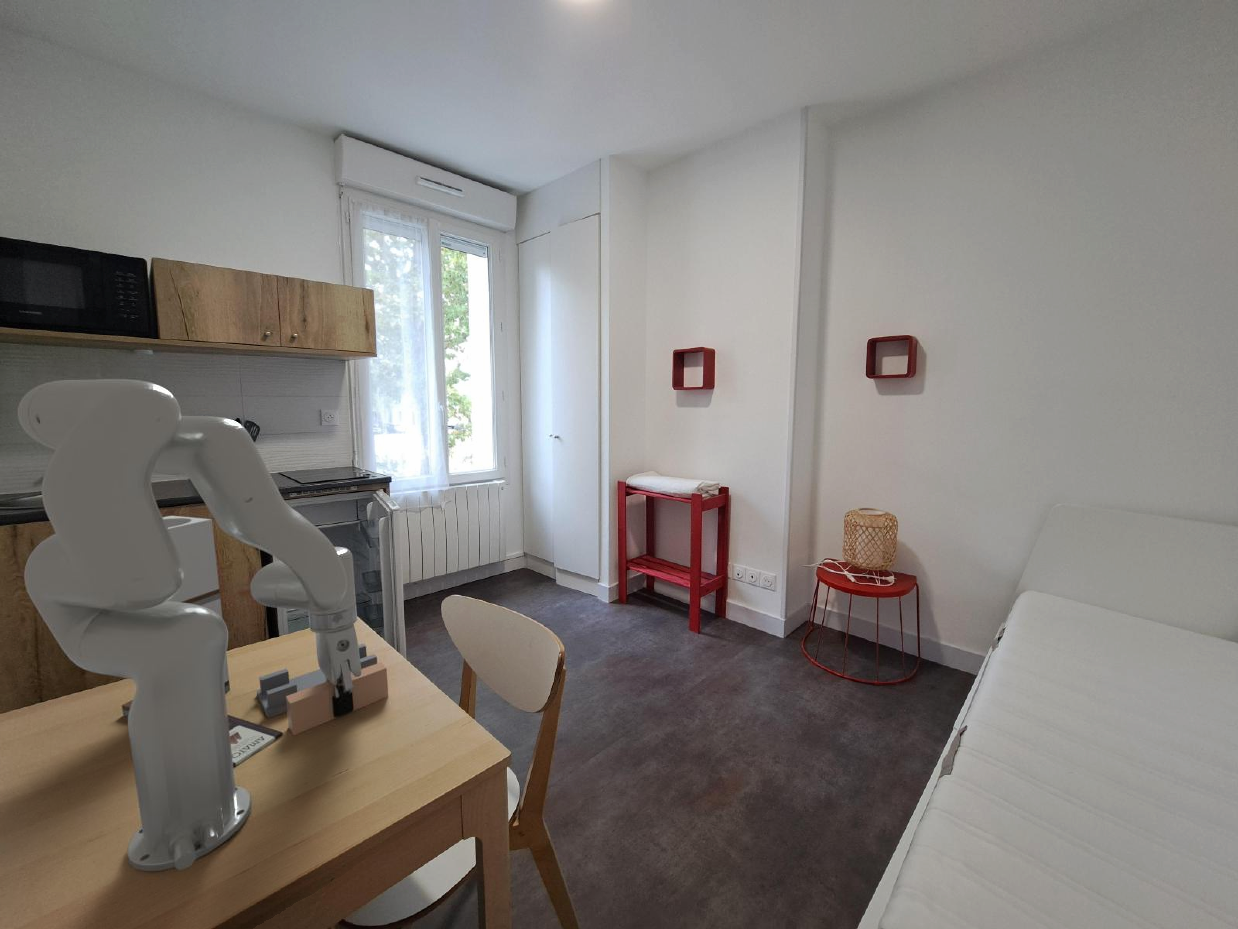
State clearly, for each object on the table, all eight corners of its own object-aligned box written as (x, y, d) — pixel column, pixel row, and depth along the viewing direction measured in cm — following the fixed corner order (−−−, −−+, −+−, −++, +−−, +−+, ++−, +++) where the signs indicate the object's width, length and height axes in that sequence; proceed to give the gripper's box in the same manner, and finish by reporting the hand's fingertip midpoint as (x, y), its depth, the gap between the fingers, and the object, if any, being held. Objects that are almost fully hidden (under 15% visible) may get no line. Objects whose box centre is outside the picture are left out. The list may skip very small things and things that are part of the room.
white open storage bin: (191, 681, 101) (171, 515, 97) (230, 689, 99) (211, 519, 94) (123, 715, 90) (97, 530, 86) (164, 725, 88) (140, 534, 83)
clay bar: (388, 696, 97) (386, 668, 96) (293, 735, 85) (290, 703, 85) (382, 690, 99) (380, 662, 98) (288, 727, 87) (285, 696, 87)
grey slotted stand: (382, 675, 104) (381, 657, 103) (267, 718, 90) (265, 698, 89) (365, 658, 111) (364, 641, 110) (257, 695, 97) (255, 676, 96)
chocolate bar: (213, 710, 91) (282, 732, 85) (213, 715, 91) (283, 737, 85) (154, 741, 83) (226, 768, 77) (154, 747, 83) (227, 774, 77)
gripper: (371, 623, 86) (377, 720, 89) (341, 597, 98) (348, 683, 100) (323, 638, 81) (331, 740, 84) (297, 608, 93) (305, 699, 95)
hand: (340, 708), depth 92 cm, fingers closed on clay bar, 2 cm apart
